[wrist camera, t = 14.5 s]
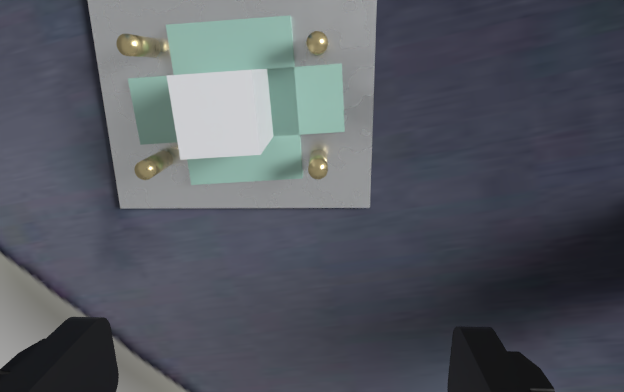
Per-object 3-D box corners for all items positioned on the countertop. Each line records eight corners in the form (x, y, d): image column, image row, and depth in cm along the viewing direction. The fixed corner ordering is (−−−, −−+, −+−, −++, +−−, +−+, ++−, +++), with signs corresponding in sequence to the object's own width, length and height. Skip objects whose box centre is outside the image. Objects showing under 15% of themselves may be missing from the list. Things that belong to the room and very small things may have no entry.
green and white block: (339, 13, 30) (344, -5, 22) (345, 173, 34) (353, 203, 26) (123, 29, 31) (59, 17, 23) (152, 184, 34) (105, 217, 27)
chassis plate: (375, -17, 30) (385, -32, 25) (368, 204, 35) (375, 225, 31) (91, -13, 31) (50, -27, 26) (124, 205, 36) (95, 225, 31)
